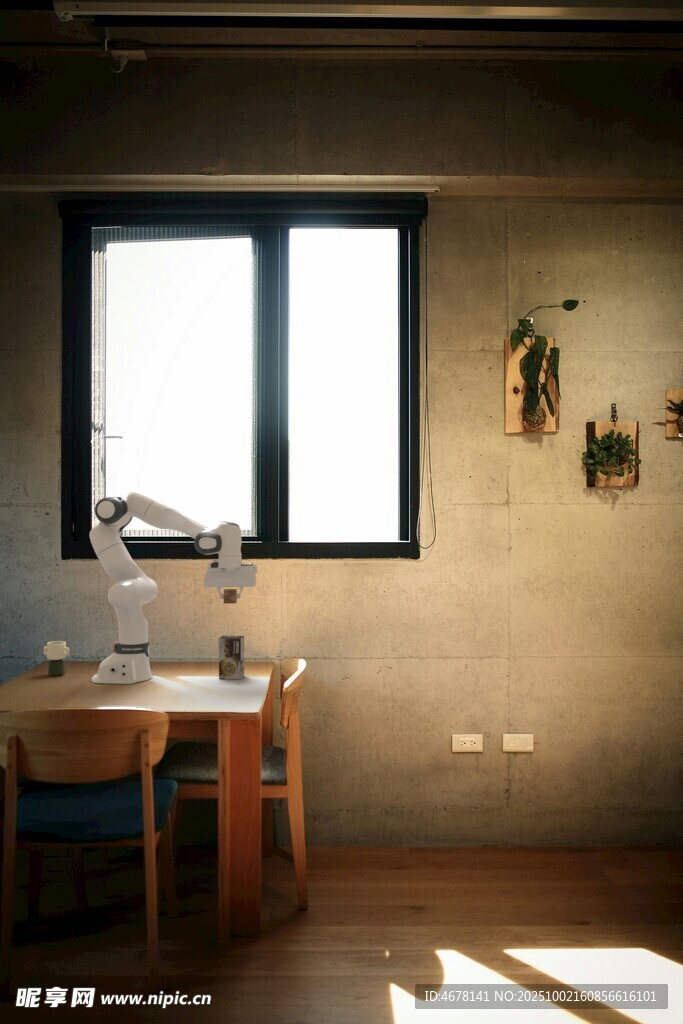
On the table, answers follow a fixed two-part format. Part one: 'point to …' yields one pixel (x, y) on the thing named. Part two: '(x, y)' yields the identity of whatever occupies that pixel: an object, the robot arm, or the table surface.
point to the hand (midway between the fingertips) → (230, 598)
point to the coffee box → (231, 657)
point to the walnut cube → (230, 596)
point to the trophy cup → (56, 656)
